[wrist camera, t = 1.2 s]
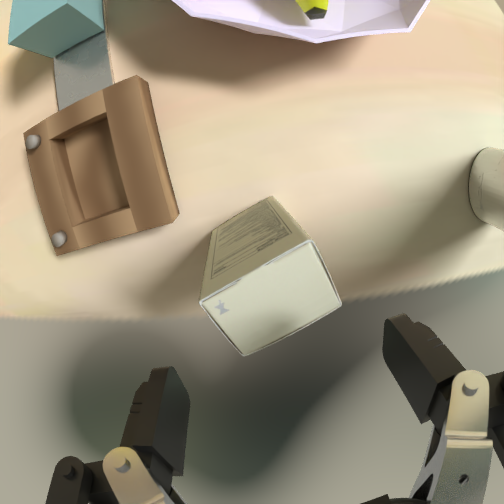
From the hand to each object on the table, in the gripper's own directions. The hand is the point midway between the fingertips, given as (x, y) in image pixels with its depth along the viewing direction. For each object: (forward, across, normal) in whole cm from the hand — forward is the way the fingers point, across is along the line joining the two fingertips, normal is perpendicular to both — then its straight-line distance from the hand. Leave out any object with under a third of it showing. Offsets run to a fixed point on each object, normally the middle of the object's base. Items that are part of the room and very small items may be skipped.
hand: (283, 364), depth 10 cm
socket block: (+16, +12, -9) cm, 22 cm away
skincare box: (+16, 0, 0) cm, 16 cm away
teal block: (+16, +12, -25) cm, 32 cm away
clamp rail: (+16, +12, -23) cm, 31 cm away
